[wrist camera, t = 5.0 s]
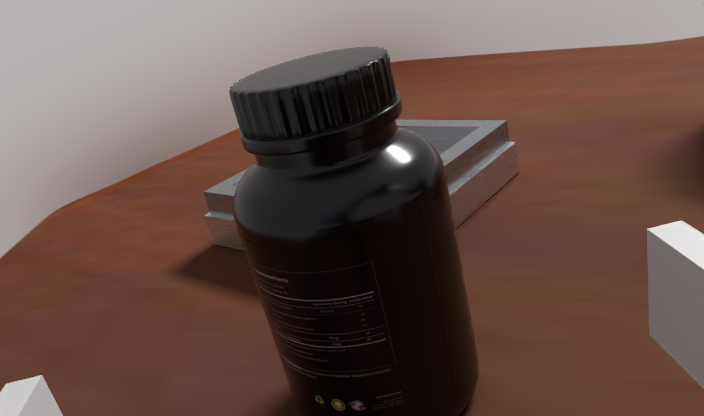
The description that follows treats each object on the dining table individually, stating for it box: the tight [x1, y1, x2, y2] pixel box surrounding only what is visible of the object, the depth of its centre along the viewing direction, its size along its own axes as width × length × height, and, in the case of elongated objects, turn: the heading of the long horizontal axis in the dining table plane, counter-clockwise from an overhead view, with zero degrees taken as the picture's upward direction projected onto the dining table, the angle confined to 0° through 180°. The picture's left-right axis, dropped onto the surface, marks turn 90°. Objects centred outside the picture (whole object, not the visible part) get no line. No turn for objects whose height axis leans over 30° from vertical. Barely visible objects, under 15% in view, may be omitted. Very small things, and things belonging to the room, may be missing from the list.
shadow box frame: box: [204, 120, 519, 251], centre depth 37 cm, size 14×14×4 cm
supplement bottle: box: [230, 47, 478, 416], centre depth 20 cm, size 7×7×12 cm
